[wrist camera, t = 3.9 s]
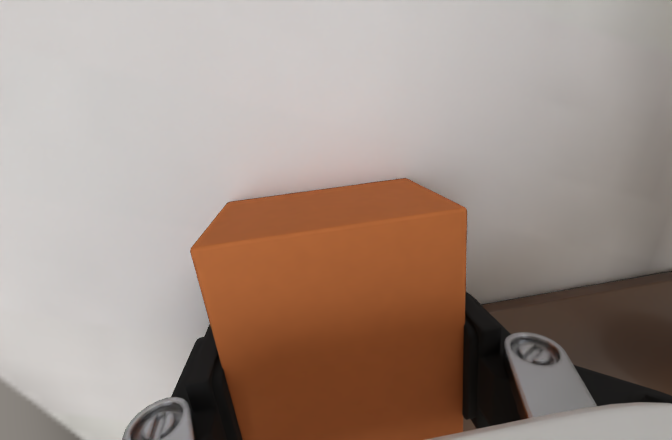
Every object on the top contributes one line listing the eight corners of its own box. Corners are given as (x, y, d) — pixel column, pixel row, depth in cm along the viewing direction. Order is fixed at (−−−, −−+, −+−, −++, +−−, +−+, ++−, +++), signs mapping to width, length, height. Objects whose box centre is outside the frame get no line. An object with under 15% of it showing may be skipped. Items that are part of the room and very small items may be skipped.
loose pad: (226, 201, 10) (187, 249, 6) (406, 177, 11) (468, 207, 7) (274, 413, 13) (266, 534, 9) (415, 385, 14) (463, 488, 10)
